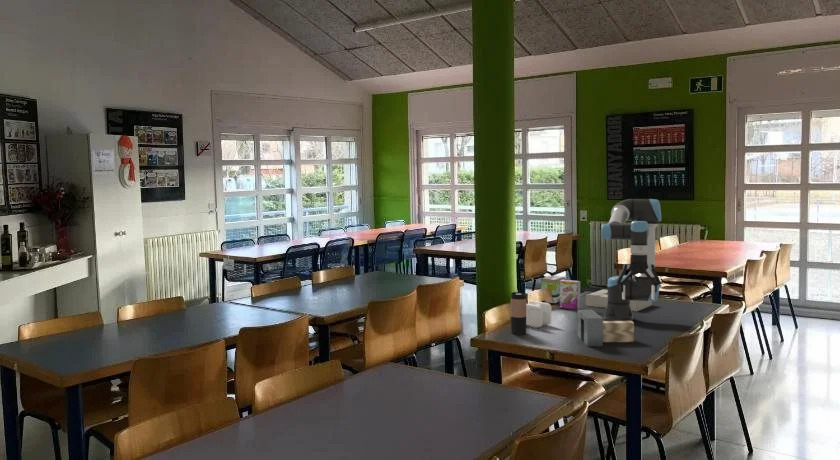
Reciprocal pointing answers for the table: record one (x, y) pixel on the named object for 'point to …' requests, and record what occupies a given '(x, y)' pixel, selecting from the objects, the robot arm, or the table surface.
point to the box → (602, 300)
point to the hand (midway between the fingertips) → (638, 299)
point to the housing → (590, 328)
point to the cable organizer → (538, 314)
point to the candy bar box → (569, 294)
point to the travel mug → (518, 313)
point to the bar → (618, 331)
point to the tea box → (552, 286)
